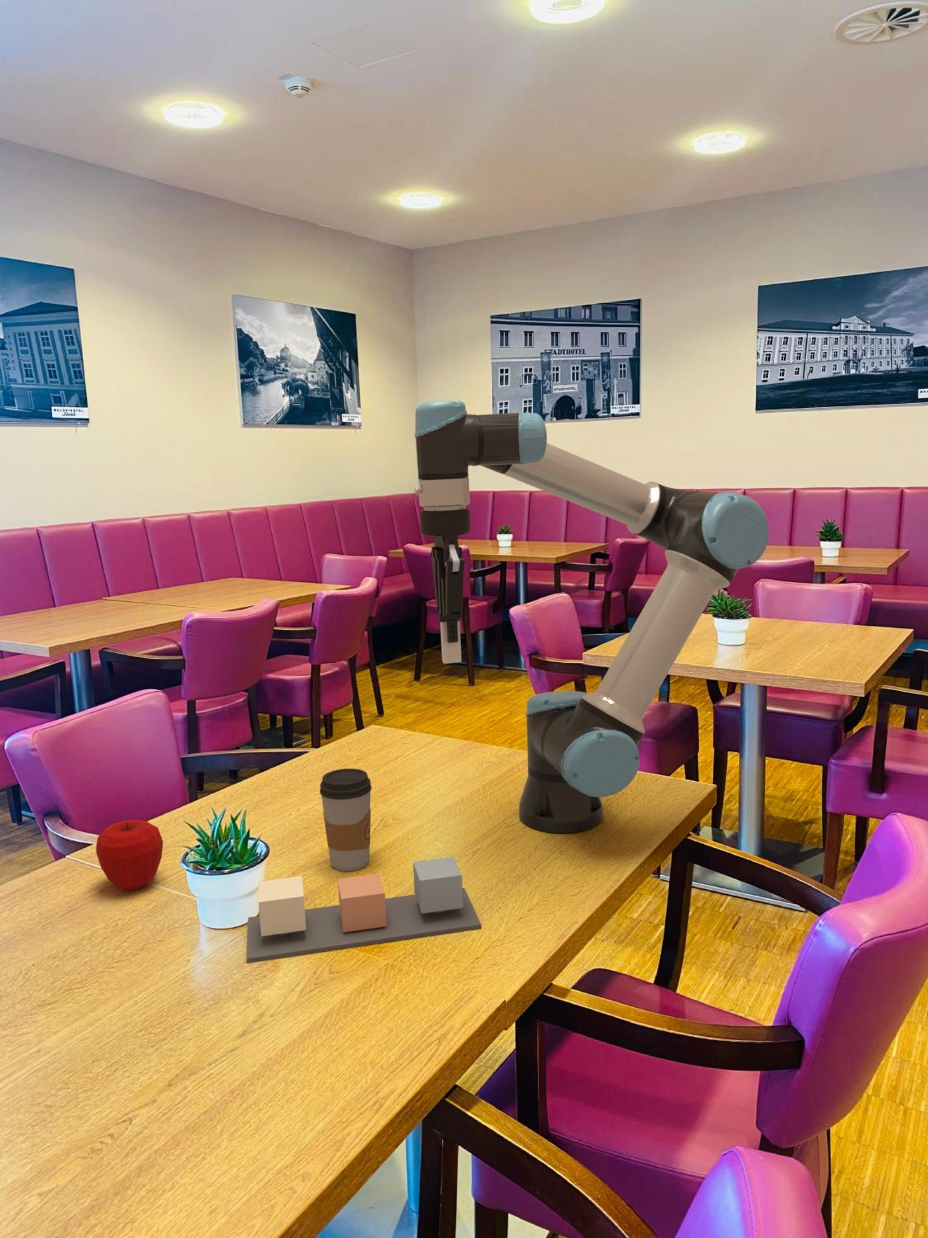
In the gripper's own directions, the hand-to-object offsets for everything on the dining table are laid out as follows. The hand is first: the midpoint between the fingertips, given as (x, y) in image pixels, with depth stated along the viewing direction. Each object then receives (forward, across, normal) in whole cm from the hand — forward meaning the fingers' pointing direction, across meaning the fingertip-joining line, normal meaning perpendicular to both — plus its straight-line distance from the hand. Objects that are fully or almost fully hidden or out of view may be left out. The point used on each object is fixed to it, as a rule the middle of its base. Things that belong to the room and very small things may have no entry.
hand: (451, 661), depth 136 cm
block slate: (+32, +14, -6) cm, 35 cm away
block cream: (+32, +13, -28) cm, 45 cm away
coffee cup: (+34, -7, -17) cm, 39 cm away
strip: (+34, +13, -18) cm, 40 cm away
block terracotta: (+33, +13, -18) cm, 40 cm away
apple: (+34, -9, -51) cm, 62 cm away
